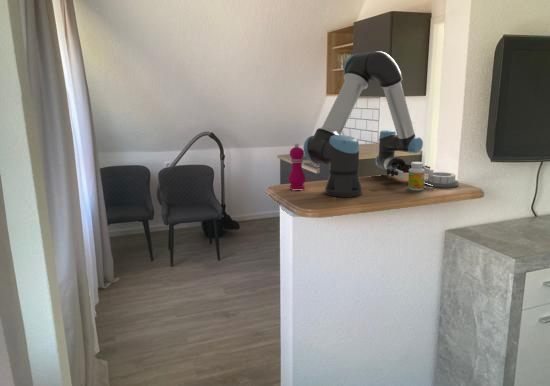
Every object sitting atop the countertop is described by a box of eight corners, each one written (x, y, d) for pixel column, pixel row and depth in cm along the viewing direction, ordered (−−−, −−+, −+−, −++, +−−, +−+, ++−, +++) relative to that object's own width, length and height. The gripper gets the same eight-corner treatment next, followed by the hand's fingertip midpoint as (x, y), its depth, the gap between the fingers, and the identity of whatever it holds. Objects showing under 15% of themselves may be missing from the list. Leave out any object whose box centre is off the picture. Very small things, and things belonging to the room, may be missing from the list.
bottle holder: (426, 187, 179) (427, 177, 177) (421, 180, 192) (422, 171, 191) (461, 188, 176) (462, 177, 175) (454, 181, 189) (454, 171, 188)
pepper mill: (303, 187, 185) (303, 142, 180) (307, 190, 178) (306, 144, 173) (287, 188, 184) (286, 142, 179) (290, 191, 177) (289, 145, 172)
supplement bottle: (405, 189, 176) (406, 163, 174) (411, 186, 181) (413, 160, 178) (419, 191, 172) (421, 164, 170) (425, 188, 177) (427, 162, 174)
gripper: (419, 171, 199) (444, 180, 178) (369, 174, 195) (389, 184, 174) (420, 156, 197) (445, 163, 177) (370, 159, 193) (390, 166, 173)
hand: (417, 174), depth 175 cm, fingers open, 13 cm apart
